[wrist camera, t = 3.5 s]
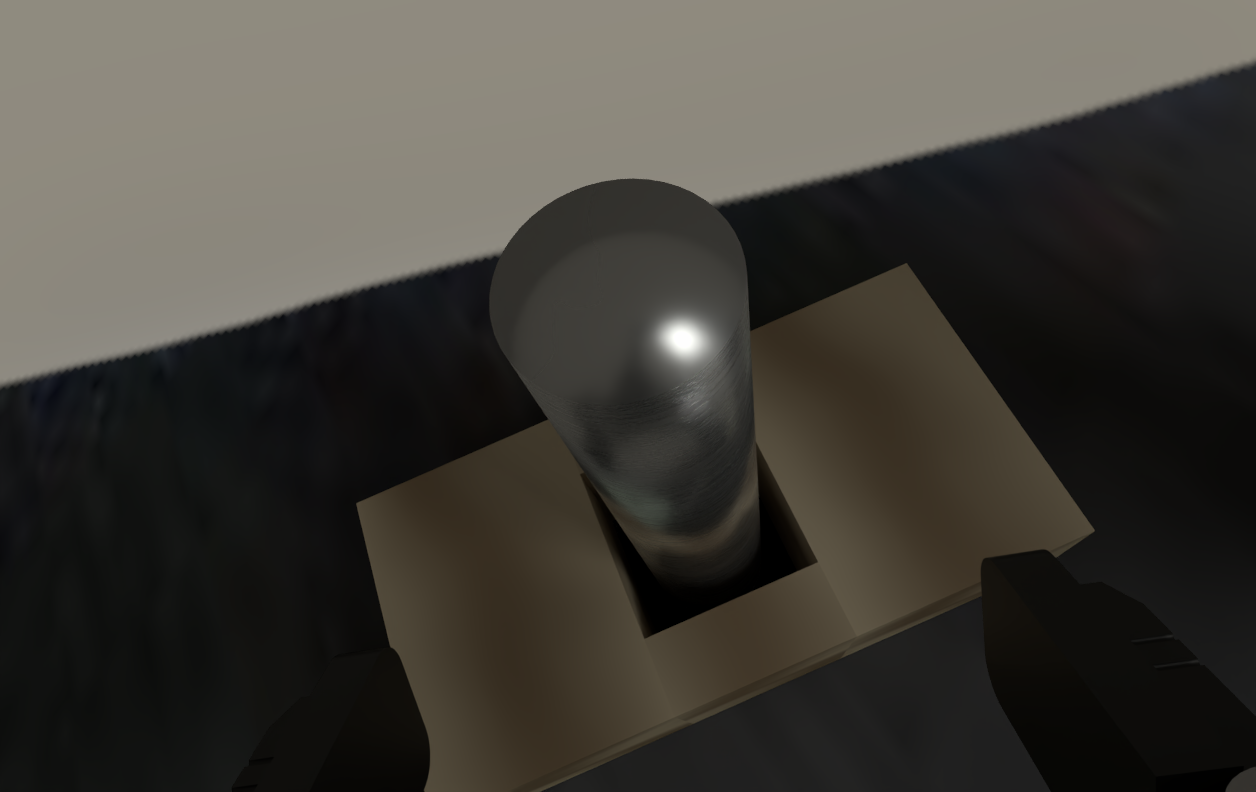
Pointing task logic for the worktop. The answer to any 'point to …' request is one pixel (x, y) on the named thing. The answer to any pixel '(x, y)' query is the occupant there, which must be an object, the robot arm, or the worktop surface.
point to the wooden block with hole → (744, 627)
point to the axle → (645, 371)
